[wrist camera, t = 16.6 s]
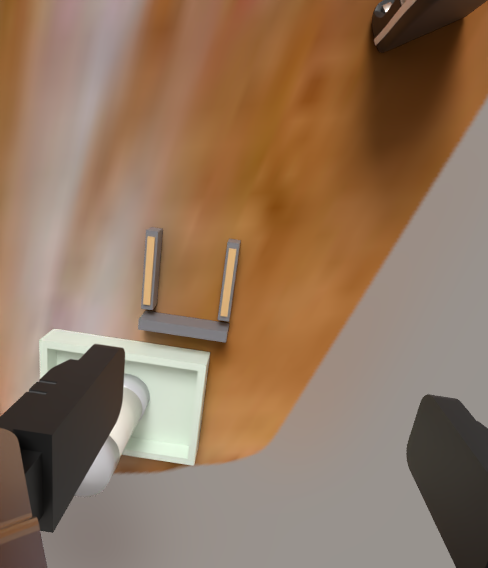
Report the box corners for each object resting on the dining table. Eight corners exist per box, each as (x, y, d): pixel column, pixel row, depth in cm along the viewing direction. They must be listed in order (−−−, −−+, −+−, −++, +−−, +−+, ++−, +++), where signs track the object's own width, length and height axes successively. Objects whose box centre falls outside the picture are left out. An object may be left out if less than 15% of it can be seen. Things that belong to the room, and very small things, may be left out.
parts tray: (54, 425, 40) (41, 442, 38) (53, 328, 37) (39, 339, 35) (198, 447, 40) (194, 465, 38) (210, 352, 37) (206, 365, 35)
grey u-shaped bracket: (144, 320, 36) (138, 329, 34) (151, 227, 34) (144, 230, 32) (227, 333, 36) (225, 342, 34) (240, 240, 34) (239, 244, 32)
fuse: (101, 410, 38) (46, 490, 29) (104, 369, 37) (47, 439, 28) (147, 418, 38) (107, 502, 29) (152, 378, 37) (111, 451, 28)
